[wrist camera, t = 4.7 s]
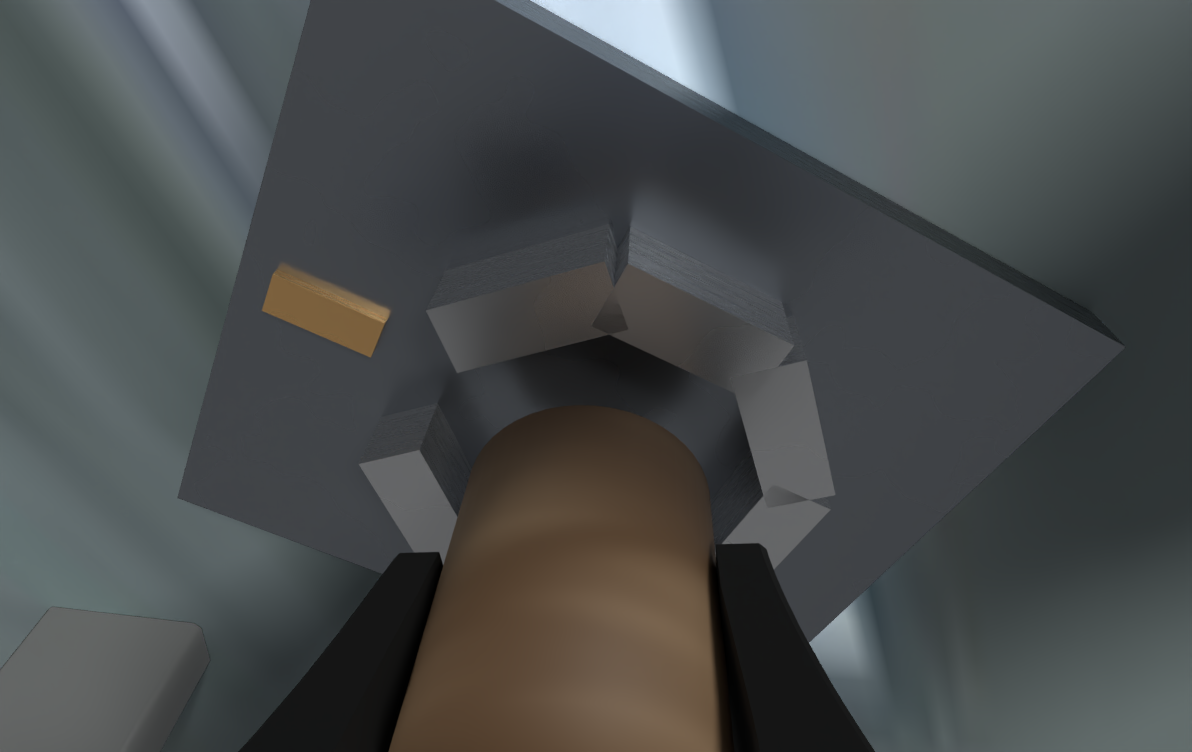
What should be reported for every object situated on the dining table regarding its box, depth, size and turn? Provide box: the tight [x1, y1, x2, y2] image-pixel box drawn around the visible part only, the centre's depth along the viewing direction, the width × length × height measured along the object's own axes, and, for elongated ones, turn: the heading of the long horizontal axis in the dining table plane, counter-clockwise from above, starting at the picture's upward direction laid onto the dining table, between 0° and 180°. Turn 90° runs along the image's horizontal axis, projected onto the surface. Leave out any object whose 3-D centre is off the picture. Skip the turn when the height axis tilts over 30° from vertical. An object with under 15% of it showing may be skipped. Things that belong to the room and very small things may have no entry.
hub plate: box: [178, 0, 1126, 643], centre depth 15 cm, size 14×12×3 cm
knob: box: [389, 405, 734, 752], centre depth 11 cm, size 4×4×5 cm
